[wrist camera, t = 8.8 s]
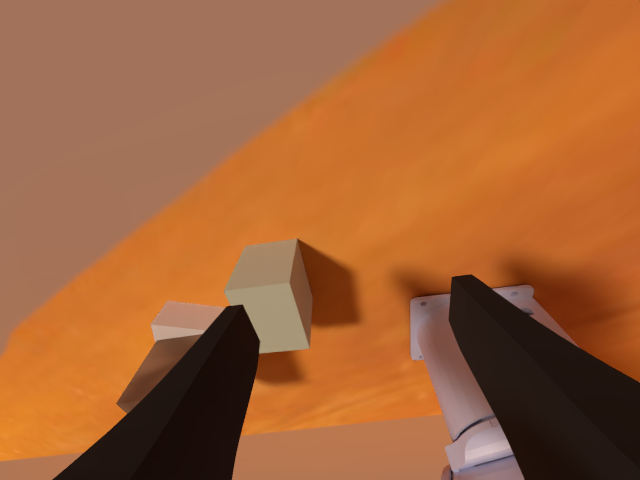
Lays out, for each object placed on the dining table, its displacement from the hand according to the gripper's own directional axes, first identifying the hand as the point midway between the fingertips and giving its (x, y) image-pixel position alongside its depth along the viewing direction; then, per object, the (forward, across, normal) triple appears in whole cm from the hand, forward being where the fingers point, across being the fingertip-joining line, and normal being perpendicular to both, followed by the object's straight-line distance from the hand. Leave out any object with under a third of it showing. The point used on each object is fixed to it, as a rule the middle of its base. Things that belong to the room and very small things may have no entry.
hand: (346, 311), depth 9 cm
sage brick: (+10, +5, +5) cm, 13 cm away
